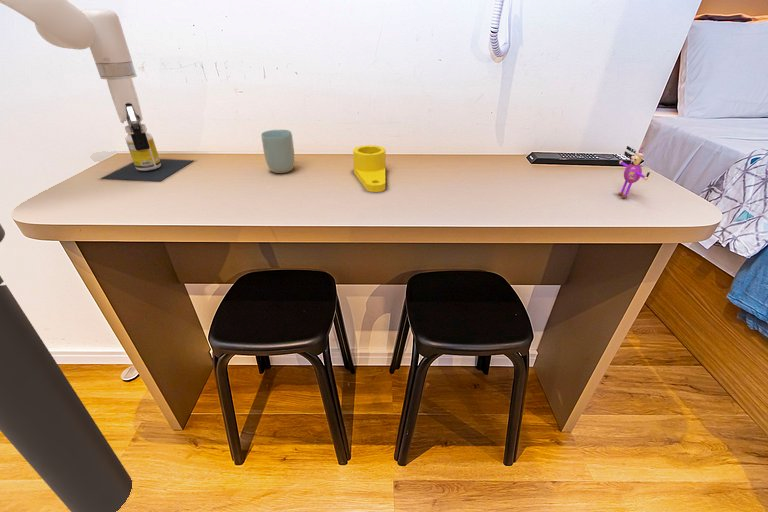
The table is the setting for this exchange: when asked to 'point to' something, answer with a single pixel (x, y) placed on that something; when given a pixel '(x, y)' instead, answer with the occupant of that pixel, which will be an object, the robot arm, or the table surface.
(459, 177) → the table surface
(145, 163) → the pill bottle
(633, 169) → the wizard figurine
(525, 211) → the table surface
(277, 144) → the cup
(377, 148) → the crank
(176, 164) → the mat
